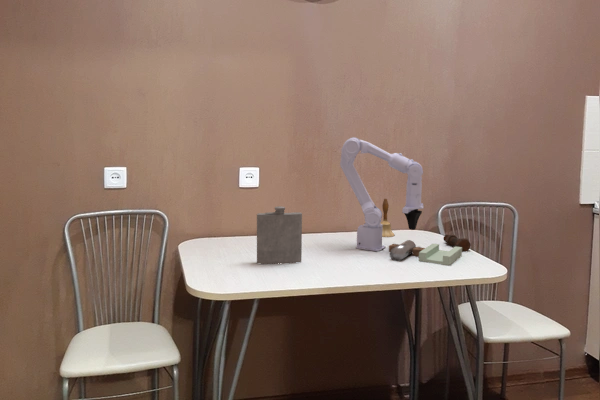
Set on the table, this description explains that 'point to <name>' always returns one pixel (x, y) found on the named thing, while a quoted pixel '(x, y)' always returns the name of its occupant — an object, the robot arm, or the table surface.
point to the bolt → (457, 242)
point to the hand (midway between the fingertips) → (412, 229)
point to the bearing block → (414, 252)
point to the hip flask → (279, 237)
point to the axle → (402, 250)
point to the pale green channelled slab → (439, 255)
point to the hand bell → (386, 225)
